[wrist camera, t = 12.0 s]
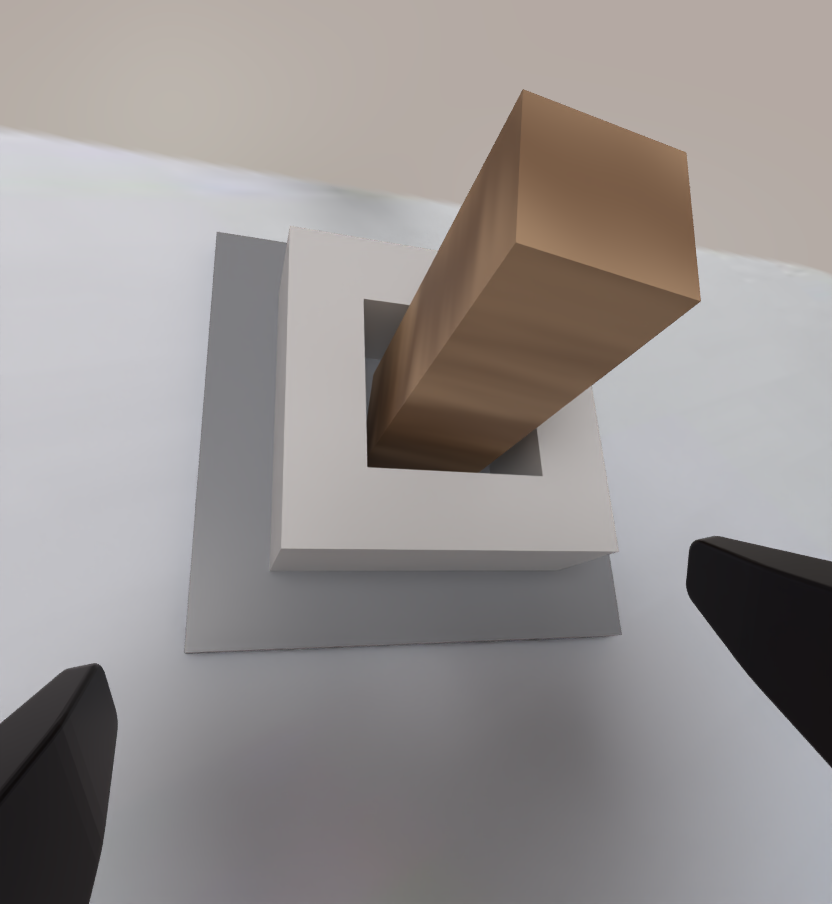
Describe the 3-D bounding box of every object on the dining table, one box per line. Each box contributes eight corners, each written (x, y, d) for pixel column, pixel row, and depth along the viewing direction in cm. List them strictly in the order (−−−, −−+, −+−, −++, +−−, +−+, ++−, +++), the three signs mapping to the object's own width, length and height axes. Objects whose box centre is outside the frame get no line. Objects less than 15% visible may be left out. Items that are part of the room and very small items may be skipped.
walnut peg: (459, 487, 23) (701, 301, 12) (359, 467, 22) (515, 242, 11) (466, 397, 25) (686, 152, 13) (373, 374, 24) (523, 89, 12)
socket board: (606, 636, 24) (695, 627, 20) (185, 653, 19) (176, 646, 15) (556, 299, 30) (616, 232, 25) (216, 247, 25) (217, 153, 20)
